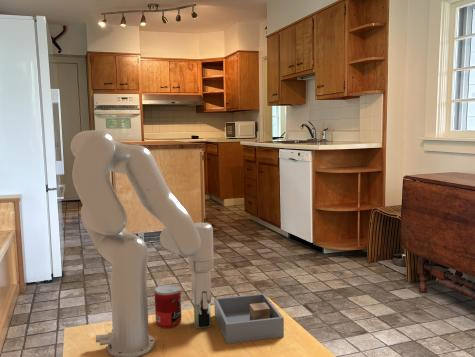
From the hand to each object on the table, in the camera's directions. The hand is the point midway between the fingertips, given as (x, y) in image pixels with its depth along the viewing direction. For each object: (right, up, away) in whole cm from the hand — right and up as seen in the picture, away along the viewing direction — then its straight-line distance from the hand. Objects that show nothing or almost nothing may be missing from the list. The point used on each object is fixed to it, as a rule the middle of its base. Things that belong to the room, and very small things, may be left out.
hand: (202, 321), depth 133 cm
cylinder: (0, -1, 0) cm, 1 cm away
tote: (+14, -1, -1) cm, 14 cm away
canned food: (-11, -1, +2) cm, 11 cm away
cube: (+17, 0, 0) cm, 17 cm away
